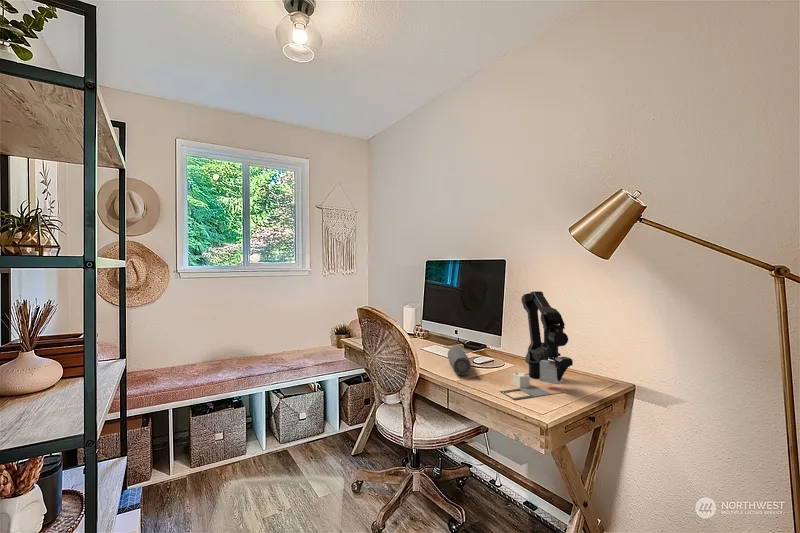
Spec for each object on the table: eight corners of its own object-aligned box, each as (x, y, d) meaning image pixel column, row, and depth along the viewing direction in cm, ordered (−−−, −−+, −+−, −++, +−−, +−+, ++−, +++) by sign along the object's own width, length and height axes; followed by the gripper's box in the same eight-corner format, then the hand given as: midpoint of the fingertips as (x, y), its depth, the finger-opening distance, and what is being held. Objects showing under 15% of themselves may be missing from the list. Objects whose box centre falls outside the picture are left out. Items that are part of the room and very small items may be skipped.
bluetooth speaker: (472, 377, 179) (472, 356, 179) (452, 377, 179) (452, 356, 179) (464, 364, 202) (464, 345, 202) (446, 364, 202) (446, 345, 202)
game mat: (499, 392, 159) (499, 391, 159) (550, 384, 168) (550, 383, 168) (514, 400, 149) (514, 399, 149) (567, 391, 158) (567, 391, 158)
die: (512, 384, 168) (512, 373, 168) (522, 383, 170) (522, 372, 170) (520, 388, 163) (520, 376, 163) (529, 387, 165) (529, 375, 165)
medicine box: (562, 382, 161) (562, 362, 161) (558, 385, 157) (558, 364, 157) (543, 378, 166) (543, 359, 166) (539, 381, 163) (539, 361, 163)
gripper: (521, 338, 167) (521, 373, 168) (551, 347, 150) (551, 386, 150) (541, 336, 171) (541, 370, 172) (573, 344, 154) (573, 383, 154)
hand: (551, 377), depth 162 cm, fingers closed on medicine box, 9 cm apart
